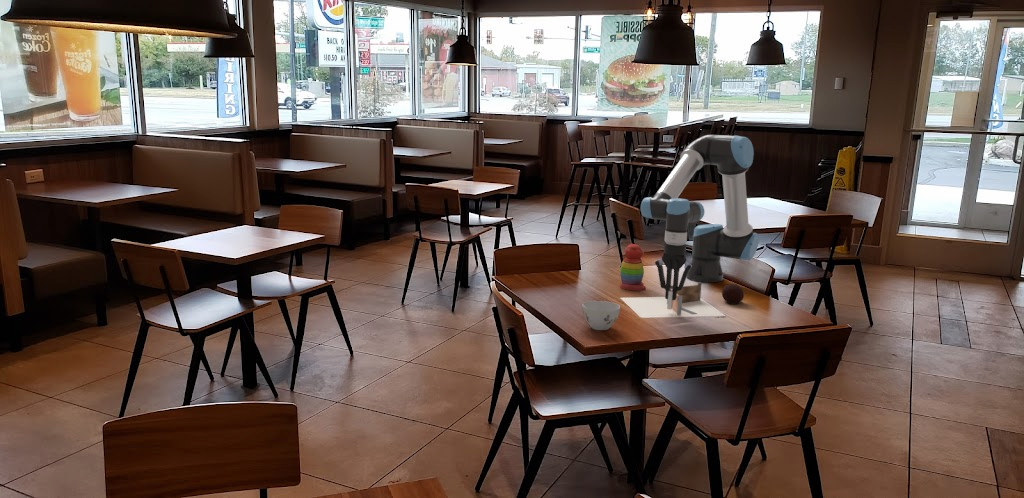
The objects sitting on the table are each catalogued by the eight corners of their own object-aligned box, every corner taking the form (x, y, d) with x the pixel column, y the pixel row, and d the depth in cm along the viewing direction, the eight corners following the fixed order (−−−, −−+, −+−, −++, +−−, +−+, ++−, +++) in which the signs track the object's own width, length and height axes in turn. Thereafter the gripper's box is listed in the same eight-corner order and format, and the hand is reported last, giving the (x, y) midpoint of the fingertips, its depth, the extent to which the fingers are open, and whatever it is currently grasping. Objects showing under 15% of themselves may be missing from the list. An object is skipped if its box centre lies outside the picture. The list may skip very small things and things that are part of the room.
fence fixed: (698, 299, 289) (699, 281, 288) (701, 300, 288) (702, 282, 286) (665, 303, 282) (667, 285, 281) (669, 305, 281) (670, 286, 279)
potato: (727, 307, 281) (728, 287, 280) (716, 300, 290) (718, 281, 289) (747, 307, 283) (749, 286, 281) (736, 300, 292) (738, 280, 290)
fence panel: (668, 304, 280) (669, 287, 279) (672, 304, 280) (673, 287, 279) (677, 314, 267) (678, 296, 266) (681, 314, 267) (682, 296, 266)
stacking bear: (646, 291, 302) (649, 247, 298) (621, 290, 302) (623, 246, 298) (642, 284, 312) (645, 241, 309) (617, 283, 313) (620, 241, 309)
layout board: (697, 297, 294) (697, 295, 294) (725, 317, 269) (725, 315, 268) (619, 299, 289) (619, 297, 289) (640, 319, 264) (641, 317, 264)
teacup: (626, 331, 251) (627, 308, 249) (593, 335, 246) (594, 311, 244) (602, 318, 264) (603, 296, 262) (571, 322, 259) (572, 299, 257)
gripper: (654, 242, 265) (649, 308, 269) (691, 247, 259) (685, 313, 264) (659, 239, 271) (654, 303, 276) (696, 243, 266) (690, 308, 271)
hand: (669, 308), depth 270 cm, fingers closed
